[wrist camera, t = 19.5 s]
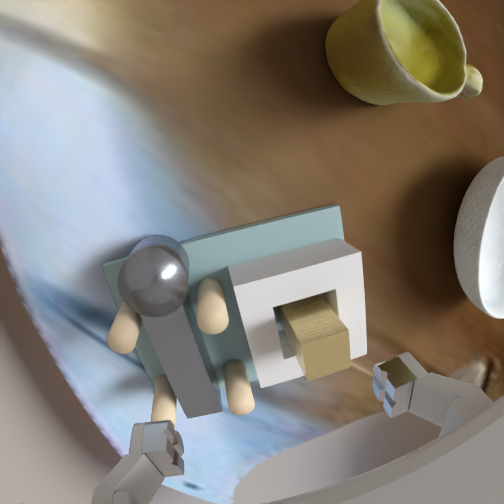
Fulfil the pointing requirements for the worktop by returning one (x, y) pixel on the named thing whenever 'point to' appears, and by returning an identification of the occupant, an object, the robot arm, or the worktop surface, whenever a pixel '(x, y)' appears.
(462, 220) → the cereal bowl
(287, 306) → the wooden bar
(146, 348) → the jig plate
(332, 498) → the robot arm
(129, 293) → the grey lever handle
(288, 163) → the worktop surface
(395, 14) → the mug
